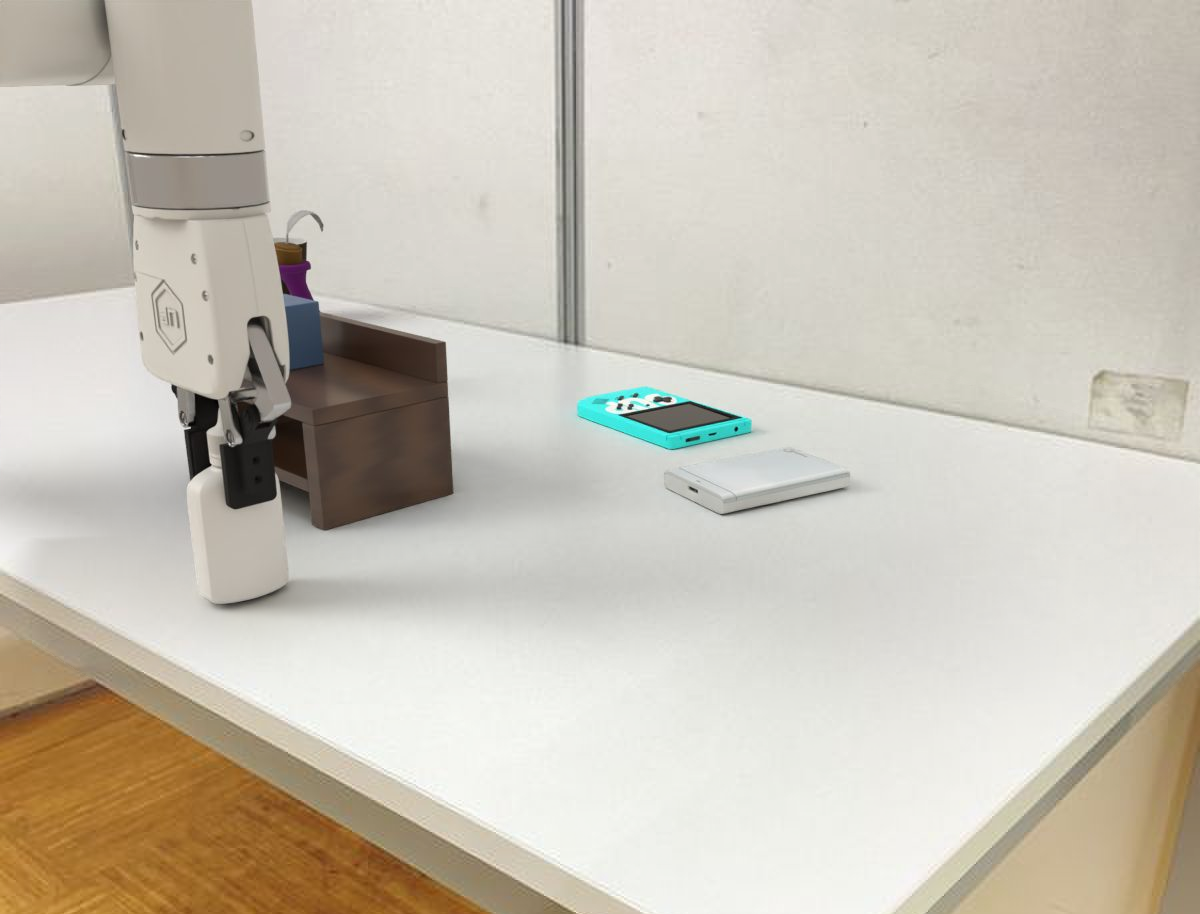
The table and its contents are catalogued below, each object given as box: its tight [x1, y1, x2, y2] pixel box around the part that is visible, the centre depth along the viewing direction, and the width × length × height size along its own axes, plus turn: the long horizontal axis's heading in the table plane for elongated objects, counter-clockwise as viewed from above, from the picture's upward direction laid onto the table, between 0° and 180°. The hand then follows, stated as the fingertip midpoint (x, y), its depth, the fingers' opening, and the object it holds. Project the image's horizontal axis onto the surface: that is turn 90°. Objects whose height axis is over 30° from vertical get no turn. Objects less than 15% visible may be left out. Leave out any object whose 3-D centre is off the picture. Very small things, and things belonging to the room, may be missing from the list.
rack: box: [236, 311, 454, 531], centre depth 99 cm, size 12×18×12 cm, turn 45°
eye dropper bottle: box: [185, 408, 290, 605], centre depth 78 cm, size 4×6×12 cm
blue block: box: [283, 294, 324, 370], centre depth 100 cm, size 5×5×5 cm
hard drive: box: [662, 446, 851, 515], centre depth 100 cm, size 2×8×12 cm
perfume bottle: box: [274, 209, 325, 312], centre depth 125 cm, size 8×8×18 cm
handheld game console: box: [576, 386, 753, 450], centre depth 118 cm, size 10×16×1 cm, turn 36°
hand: (233, 492), depth 78 cm, fingers closed on eye dropper bottle, 3 cm apart
